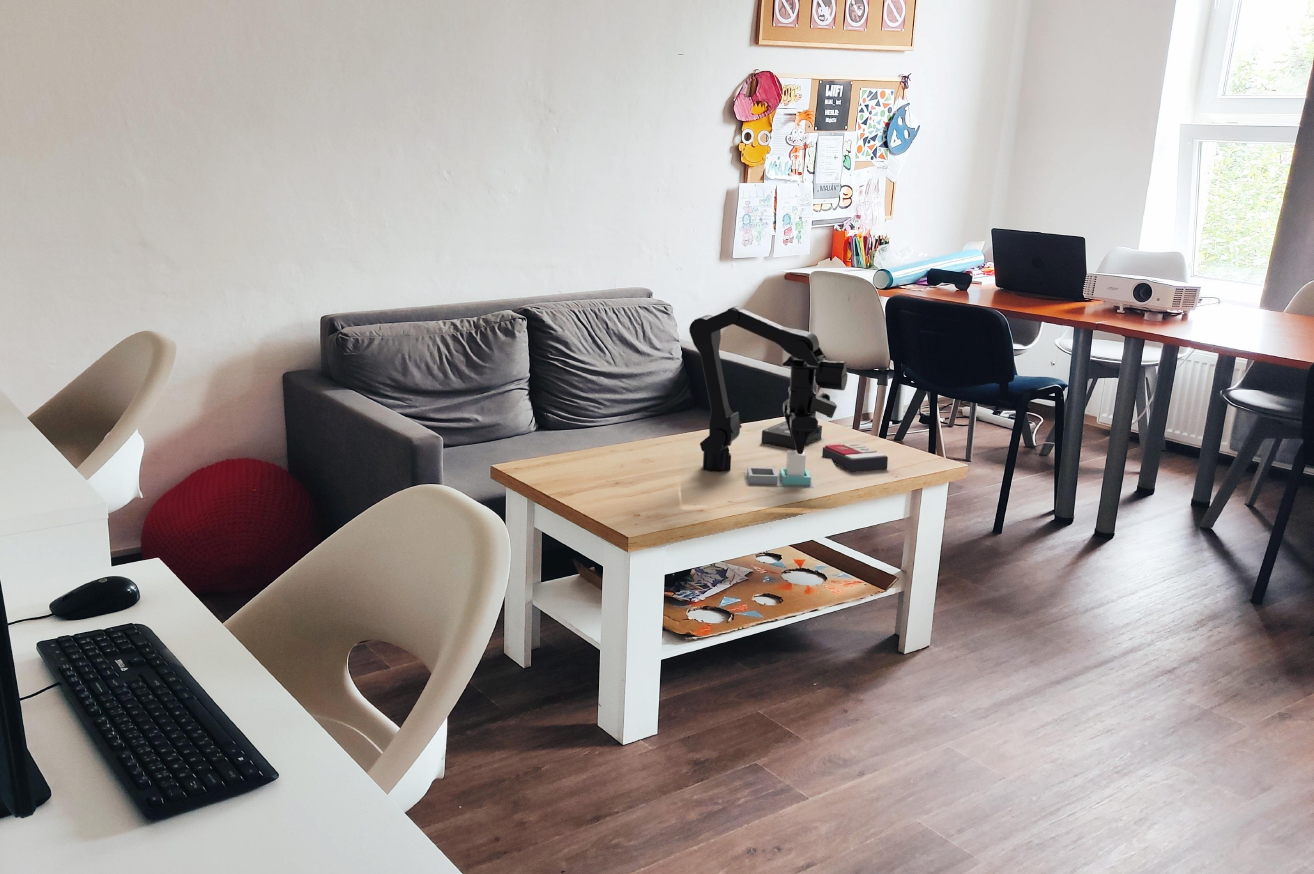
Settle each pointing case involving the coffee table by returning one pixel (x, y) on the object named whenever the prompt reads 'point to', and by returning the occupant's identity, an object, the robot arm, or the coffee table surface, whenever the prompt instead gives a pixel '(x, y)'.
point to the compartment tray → (776, 478)
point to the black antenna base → (785, 436)
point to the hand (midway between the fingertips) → (797, 448)
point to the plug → (795, 464)
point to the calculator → (855, 457)
